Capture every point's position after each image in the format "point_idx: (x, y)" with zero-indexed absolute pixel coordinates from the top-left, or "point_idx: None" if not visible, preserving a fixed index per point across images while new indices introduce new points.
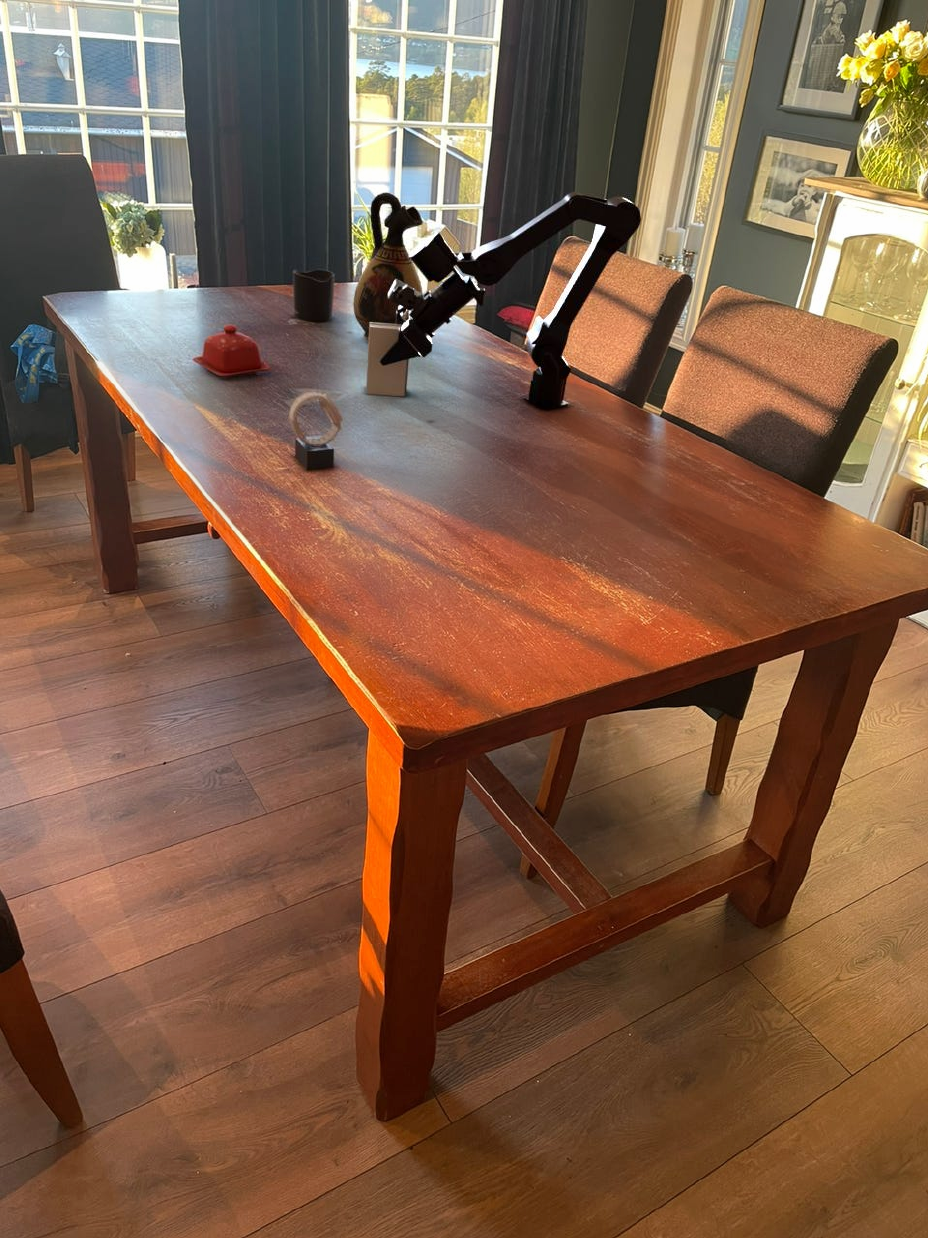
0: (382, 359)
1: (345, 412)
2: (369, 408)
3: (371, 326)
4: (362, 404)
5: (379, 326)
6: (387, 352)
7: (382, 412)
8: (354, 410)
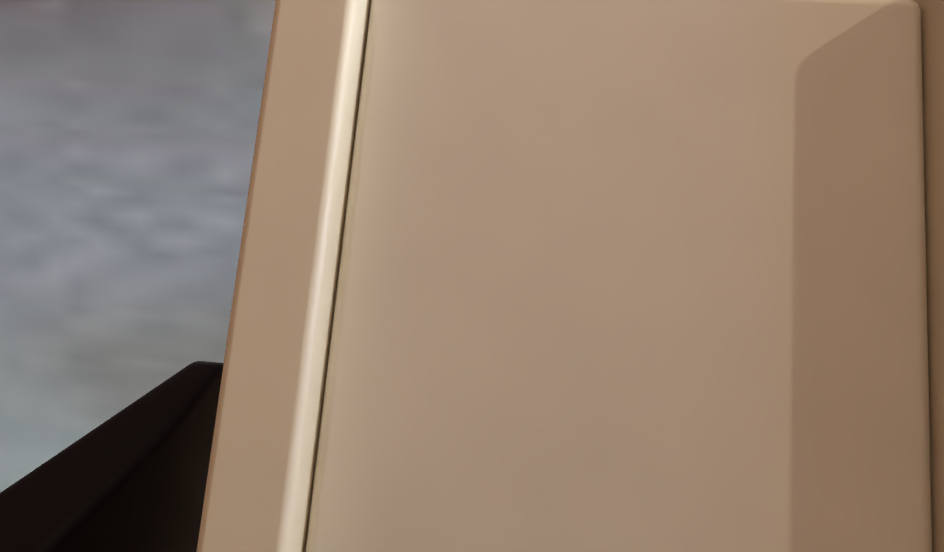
0: (153, 397)
1: (38, 109)
2: (124, 289)
3: (525, 24)
4: (211, 243)
5: (605, 327)
6: (28, 483)
7: (38, 383)
8: (79, 174)
